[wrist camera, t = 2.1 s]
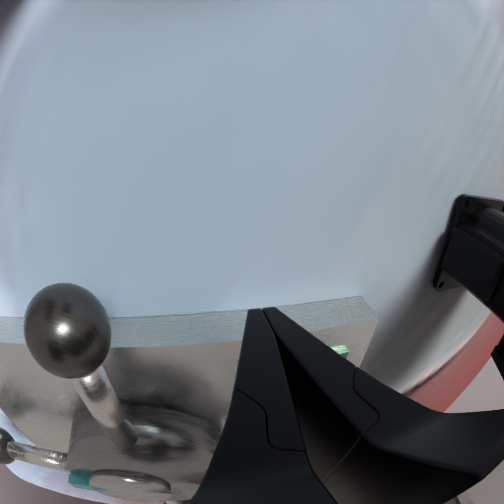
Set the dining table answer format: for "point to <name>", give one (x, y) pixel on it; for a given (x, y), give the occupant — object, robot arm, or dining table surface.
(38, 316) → the capstan
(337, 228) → the dining table surface
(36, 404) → the stand
